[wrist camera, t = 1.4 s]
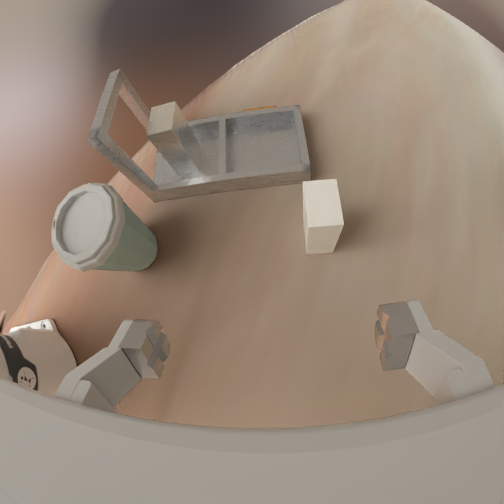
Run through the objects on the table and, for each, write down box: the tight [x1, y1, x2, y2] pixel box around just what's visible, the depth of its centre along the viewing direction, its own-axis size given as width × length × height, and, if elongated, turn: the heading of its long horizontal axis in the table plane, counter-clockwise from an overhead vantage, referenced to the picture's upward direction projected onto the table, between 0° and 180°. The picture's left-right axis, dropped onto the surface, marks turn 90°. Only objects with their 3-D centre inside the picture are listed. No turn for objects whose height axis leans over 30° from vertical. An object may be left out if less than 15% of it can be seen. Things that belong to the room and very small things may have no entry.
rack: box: [88, 69, 311, 202], centre depth 36 cm, size 24×12×18 cm, turn 94°
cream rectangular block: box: [303, 179, 344, 255], centre depth 34 cm, size 4×5×11 cm
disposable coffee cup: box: [52, 183, 158, 272], centre depth 35 cm, size 11×11×15 cm
